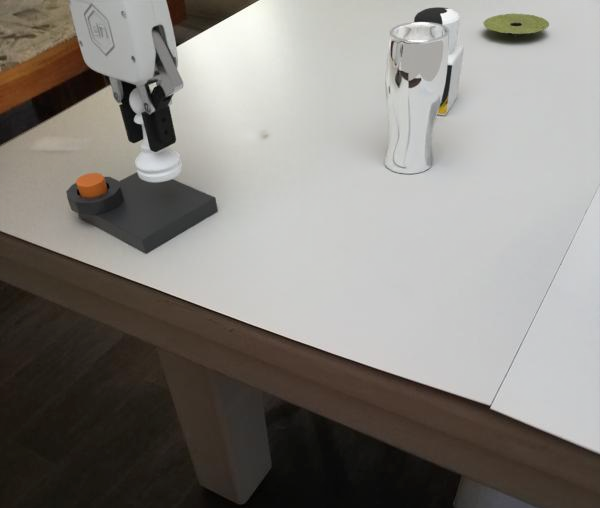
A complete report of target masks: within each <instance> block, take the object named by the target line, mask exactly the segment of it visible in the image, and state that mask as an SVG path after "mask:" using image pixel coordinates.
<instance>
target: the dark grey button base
mask: <svg viewBox="0 0 600 508" xmlns="http://www.w3.org/2000/svg"><path fill="white" fill-rule="evenodd" d="M104 179H105V182H106V185H107V188H108V190H107V192H106V193H104V194H102V195H100V196H95V197H82V196H81V195H80V193H79V190H78V187H77V184H76V182H75V183H73V184H71V185H70V186H69V188H68V189H67V190H66V198H67V200H68V204H69V206H70V210H71V211H72V212H74V213H76V214H77V216H78V218H79V219H81V220H82V221H85V222H86V223H88V224H90V225H92V226H93V227H95V228H97V229H99V230H101V231H103V232H105V233H107V234H108V235H110V236H112V237H114V238H116V239H118V240H120V241H122V242H123V243H126V244H127V245H129V246H130V247H132V248H134V249H136V250H138V251H140V252H142V253H143V254H145V255H148V254H149V253H151V252H152V251H154V250H156V249H157V248H159V247H161V246H162V245H164V244H166V243H167V242H169V241H172V239H175V238H177V236H179V235H181V234H183V233H184V232H187V230H189V229H191V228H193V227H194V226H196V225H198V224H200V223H202V222H203V221H205V220H207V219H208V218H210V217H211V216H214V215H215V214H216V213H218V212H219V210H218V204H217V198H216V197H215V196H213V195H210V194H209V193H206V192H204V191H202V190H199V189H196V188H195V187H192V186H190V185H187V184H186V183H183V182H180V181H178V180H176V179H175V178H174V179H171V180H169V181H165V182H158V183H152V182H146V181H144V180H142V179H140V178H139V176H138V173H137V171H136V172H135V173H133V174H131V175H129V176H127V177H124V178H122V179H121V180H118V179H116V178H113V177H111V176H104Z"/></svg>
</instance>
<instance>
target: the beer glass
mask: <svg viewBox="0 0 600 508" xmlns="http://www.w3.org/2000/svg"><path fill="white" fill-rule="evenodd" d="M449 33H450V30H449V28H447V27H446V26H444V25H441V24H438V23H432V22H414V21H413V22H412V21H411V22H405V23H400V24H397V25H395V26H394V27H392V28H391V29H390V30H389V37H388V46H387V53H386V62H385V82H384V83H385V98H386V109H387V118H388V126H389V133H388V135H389V136H388V144H387V148H386V153H385V157H384V165H385V167H386V168H387V169H389V170H390V171H391V172H394V173H398V174H402V175H415V174H420V173H423V172H425V171H428V170H429V169H430V168H431V167H432V165H433V163H434V162H433V160H434V157H433V135H434V134H433V133H434V128H435V124H436V121H437V117H438V115H437V114H438V110H439V107H440V103H441V100H442V96H443V91H444V87H445V82H446V75H447V66H448V52H449Z"/></svg>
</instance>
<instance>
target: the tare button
mask: <svg viewBox="0 0 600 508" xmlns="http://www.w3.org/2000/svg"><path fill="white" fill-rule="evenodd" d="M104 177H105V176H104V175H103V174H102V173H100V172H99V173H98V172H91V173H86V174H84V175H81V176H79V177H78V178H76V180H75V183H76V184H77V187H78V190H79V193H80V195H81V196H82V197H95V196H100V195H102V194H104V193H106V192H107V190H108V188H107V185H106V182H105V179H104Z"/></svg>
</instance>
